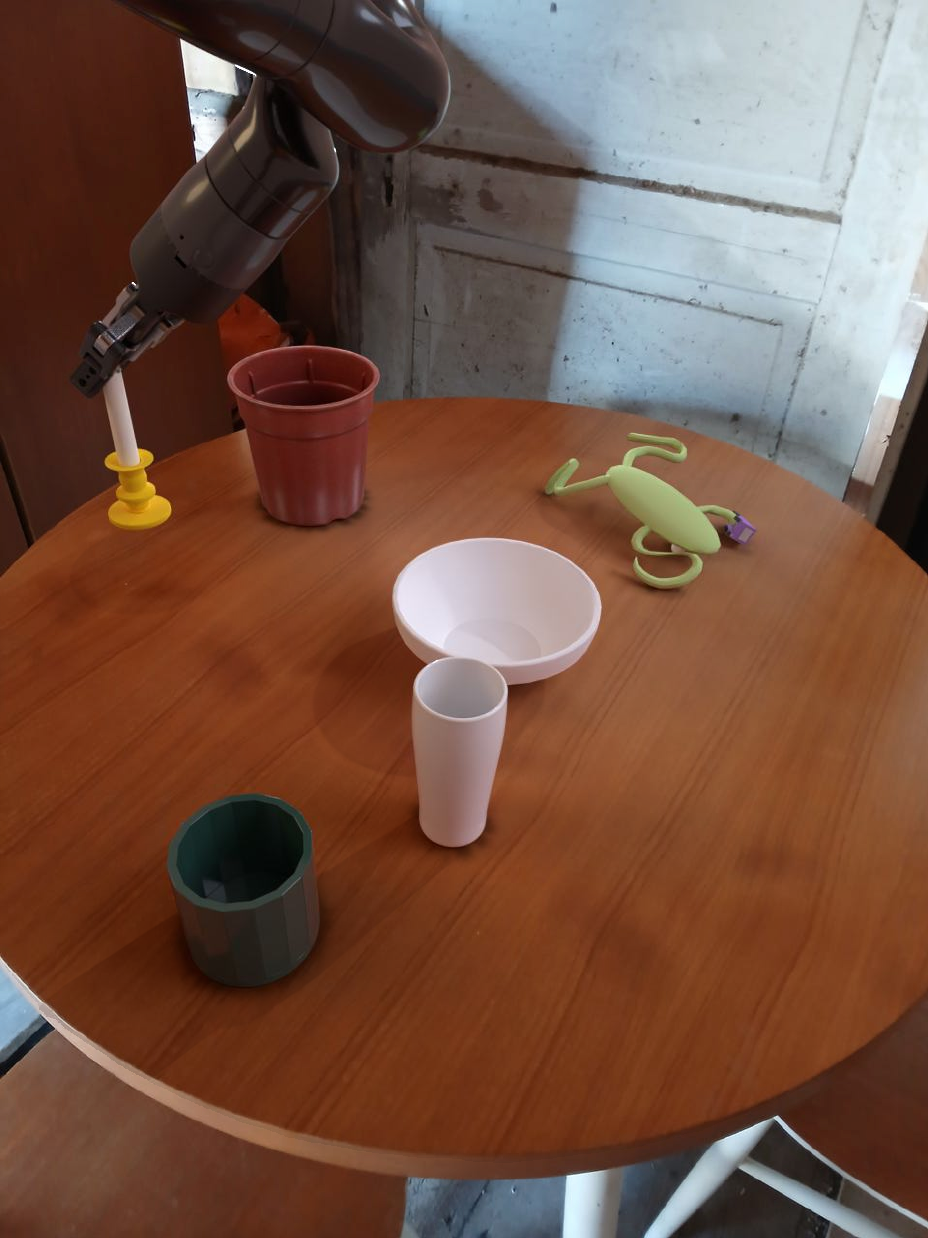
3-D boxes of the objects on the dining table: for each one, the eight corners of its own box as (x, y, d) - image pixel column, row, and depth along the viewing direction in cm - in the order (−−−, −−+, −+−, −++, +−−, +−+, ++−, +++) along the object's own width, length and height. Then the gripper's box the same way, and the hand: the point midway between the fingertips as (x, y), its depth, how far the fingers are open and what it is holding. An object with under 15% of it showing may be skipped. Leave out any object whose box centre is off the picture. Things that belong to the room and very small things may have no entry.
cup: (213, 1012, 59) (194, 935, 54) (170, 905, 65) (149, 826, 60) (341, 949, 63) (335, 871, 58) (289, 853, 69) (280, 775, 64)
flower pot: (222, 486, 111) (204, 360, 101) (342, 455, 118) (336, 335, 108) (278, 553, 100) (265, 420, 90) (406, 514, 108) (407, 387, 98)
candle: (117, 536, 76) (76, 358, 66) (102, 507, 79) (60, 333, 70) (179, 521, 78) (148, 346, 68) (161, 493, 81) (129, 323, 72)
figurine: (651, 456, 122) (658, 418, 118) (786, 563, 103) (799, 521, 100) (531, 482, 115) (536, 442, 111) (653, 600, 97) (663, 557, 93)
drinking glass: (507, 808, 74) (523, 673, 64) (473, 871, 69) (485, 734, 59) (433, 779, 76) (438, 644, 66) (394, 838, 71) (394, 701, 61)
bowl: (453, 572, 99) (455, 517, 94) (620, 632, 92) (631, 575, 88) (352, 675, 85) (350, 616, 81) (540, 754, 79) (549, 695, 74)
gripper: (216, 171, 66) (98, 315, 76) (116, 219, 56) (-5, 380, 65) (290, 254, 69) (167, 384, 78) (208, 316, 58) (77, 457, 68)
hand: (89, 382), depth 72 cm, fingers closed on candle
